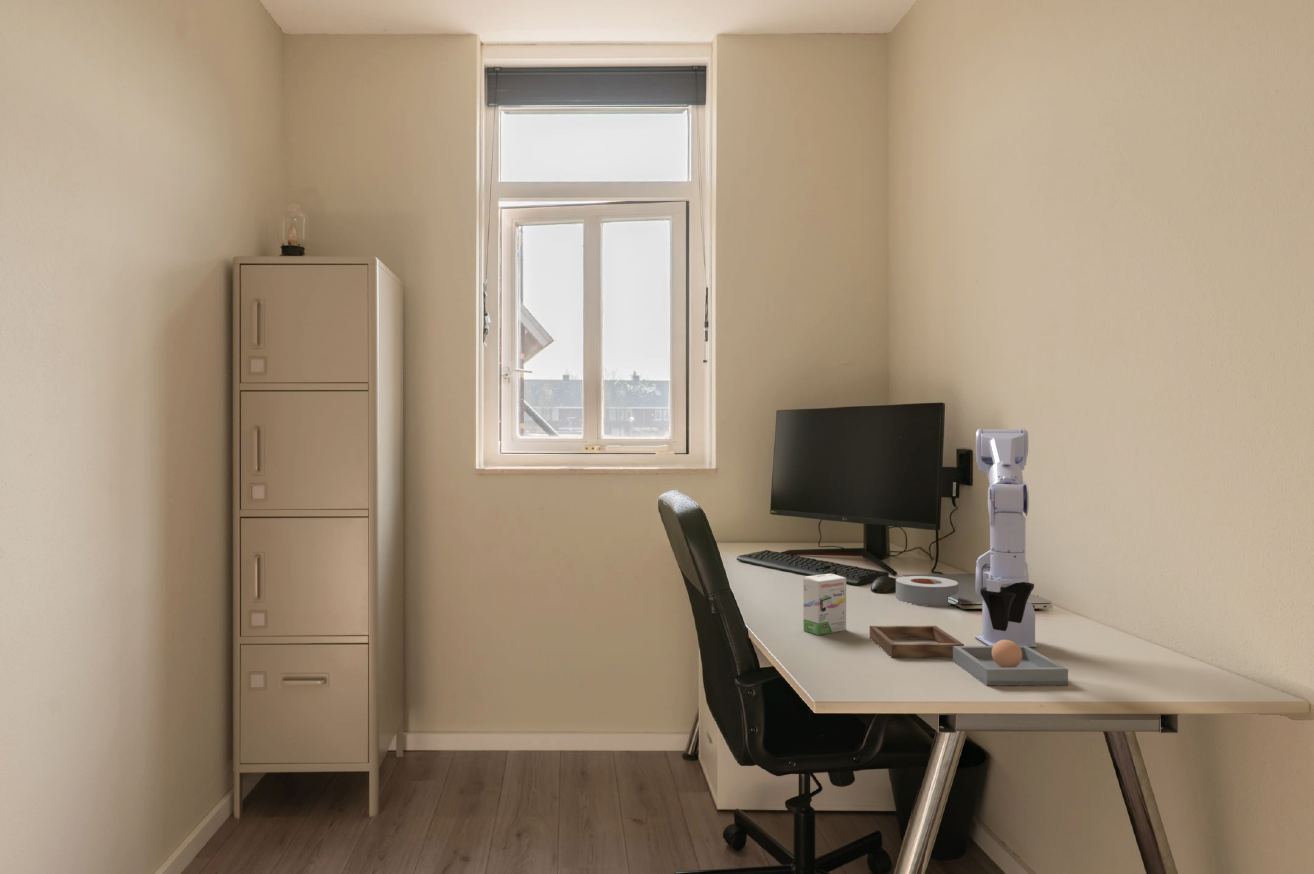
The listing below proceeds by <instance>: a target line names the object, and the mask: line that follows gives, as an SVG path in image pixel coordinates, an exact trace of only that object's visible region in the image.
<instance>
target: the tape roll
mask: <svg viewBox="0 0 1314 874" xmlns="http://www.w3.org/2000/svg"><path fill="white" fill-rule="evenodd" d="M959 591H960V590H959V582H958V581H956V580H953V579H951V578H950V579H949V578H944V577H939V576H927V575H911V576H900V577H897V578H896V579H895V599H896V598H897V599H898V600H897V599H896V600H897V601H899V600H900V601H899V602H901V601H903V602H902V603H904V602H907V603H906V604H908V603H913V604H912V605H914V604H917V605H916V606H921V605H928V606H927V607H949V606H948V605H949V602H948V597H950V596H951V595H955V594H957V593H958V592H959Z"/></svg>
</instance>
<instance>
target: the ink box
mask: <svg viewBox="0 0 1314 874" xmlns="http://www.w3.org/2000/svg"><path fill="white" fill-rule="evenodd" d="M802 580H803V583H802V585H803V588H802V589H803V592H802V593H803V597H802V598H803V599H802V600H803V602H802V603H803V604H802V605H803V612H802V613H803V617H802V618H803V631H804V632H807V633H810V634H813V635H817V636H822V634H823V635H829V634H834V633H837V631H839V632H844V631H847V577H844V576H842V575H838V574H835V573H825V574H815V575H807V576H805V577H803V578H802Z"/></svg>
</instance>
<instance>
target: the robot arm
mask: <svg viewBox="0 0 1314 874" xmlns="http://www.w3.org/2000/svg"><path fill="white" fill-rule="evenodd" d="M975 456H976V460H975V461H976V465H977V469H978V470H979V471H980V472H984V473H985V474H986V477H987V480H988V482H989V486H988V487H987V488H988V489H987V509H988V516H989V545H990V546H989V550H988V551H986V552H984V553H983V554H981V555H979V557H978V558H977V560H976V562H975V563H976V564H975V566H976V567H975V593H976V594H977V595H978V596H979V597H981V599H982V602H981V603H982V608H981V613H982V616H981V617H982V619H981V624H982V625H981V626H982V627H981V633H982V634H974V638H975V639H977V640H979V641H980V642H982V643H984V644H985V645H986V646H994V644H995V643H996V642H998V641H1000V640H1010V641H1013V642H1014V643H1016V644H1017V645H1018V646H1028V647H1029V648H1037V647H1038V644H1036V611H1035V608H1034V605H1033V603H1031V601H1030V600H1029V597H1030V595H1031V593H1032V592H1033V590H1034V588H1035V583H1031V582H1030V580H1029V579H1030V578H1029V571H1028V563H1027V561H1026V517H1027V516H1028V514H1029V511H1030V510H1029V509H1030V508H1029V507H1030V494H1029V493H1030V492H1029V489H1028V488H1029V487H1028V484H1027V483H1026V482H1024V478H1023V471H1024V470H1025V466H1026V465H1027V459H1028V456H1029V432H1028V431H1027V430H1026V428H1021V429H1020V428H1017V429H1016V428H1010V429H1009V428H1007V429H1006V428H1002V429H1001V428H1000V429H997V428H995V429H993V428H991V429H990V428H987V429H986V428H984V429H983V428H978V429H977V430H976V431H975ZM1024 514H1025V515H1024ZM1025 516H1026V517H1025Z"/></svg>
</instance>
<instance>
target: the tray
mask: <svg viewBox="0 0 1314 874" xmlns="http://www.w3.org/2000/svg"><path fill="white" fill-rule="evenodd" d="M1019 647H1020V649H1021V651H1022V660H1021V662H1020V664H1019V665H1018V666H1016V667H1014V668H1003V667H1001V666H999V665H998V664H997V663H996V662H995V661H994V659H993V657H992V648H993V646H988V645H964V646H953V658H952V662H954V663H955V662H956V663H955V664H957V665H958V666H959V665H960V666H959V667H960V668H961V669H962V670H963V669H964V671H966V672H967V671H968V672H967V673H968V674H970V673H971V674H970V675H971V676H972V677H974V678H975V677H976V679H977V680H978V679H979V680H980V681H979V680H978V681H979V682H981V683H982V682H983V683H984V684H983V683H982V684H983V685H985V686H986V685H1021V686H1022V685H1061V686H1064V687H1065V686H1069V668H1067V667H1065V666H1064V665H1061V664H1060V663H1058V662H1057V661H1054V660H1053V659H1051V658H1049V657H1047V656H1046V655H1043V654H1042V653H1040V652H1038V651H1036V650H1035V649H1033V648H1032V647H1028V646H1019ZM1021 686H1020V687H1021Z"/></svg>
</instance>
